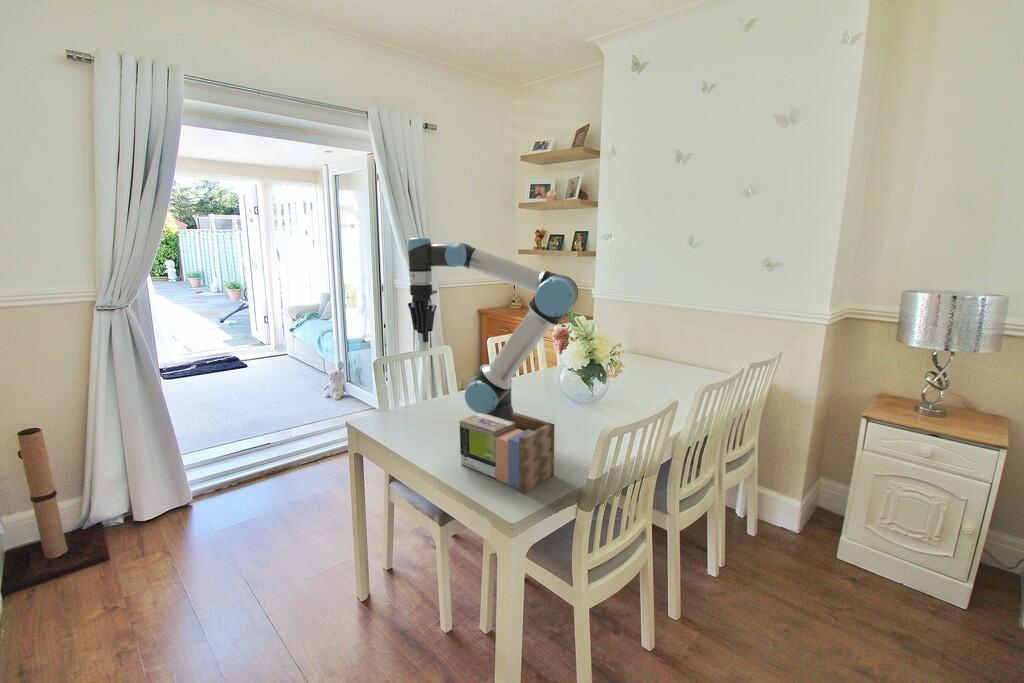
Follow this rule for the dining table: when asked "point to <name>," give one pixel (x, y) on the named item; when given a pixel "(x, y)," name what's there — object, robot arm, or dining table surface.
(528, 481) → the shelf
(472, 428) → the tea box
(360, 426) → the dining table surface
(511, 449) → the blue book
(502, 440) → the rust book
